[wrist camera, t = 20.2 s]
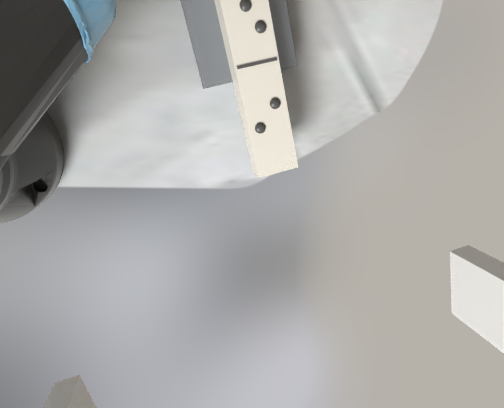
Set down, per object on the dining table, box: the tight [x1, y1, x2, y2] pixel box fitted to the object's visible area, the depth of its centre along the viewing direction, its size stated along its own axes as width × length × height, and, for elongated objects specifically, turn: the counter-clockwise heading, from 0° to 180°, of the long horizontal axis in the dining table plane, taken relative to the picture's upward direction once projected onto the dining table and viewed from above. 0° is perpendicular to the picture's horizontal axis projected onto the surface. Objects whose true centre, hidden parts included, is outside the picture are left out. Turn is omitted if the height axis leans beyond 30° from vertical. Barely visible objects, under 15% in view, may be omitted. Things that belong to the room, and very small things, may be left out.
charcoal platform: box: [181, 0, 297, 89], centre depth 35 cm, size 10×14×4 cm
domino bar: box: [214, 0, 298, 178], centre depth 34 cm, size 4×22×3 cm, turn 12°
